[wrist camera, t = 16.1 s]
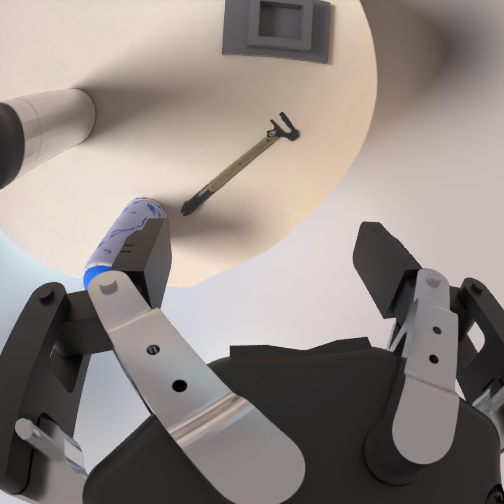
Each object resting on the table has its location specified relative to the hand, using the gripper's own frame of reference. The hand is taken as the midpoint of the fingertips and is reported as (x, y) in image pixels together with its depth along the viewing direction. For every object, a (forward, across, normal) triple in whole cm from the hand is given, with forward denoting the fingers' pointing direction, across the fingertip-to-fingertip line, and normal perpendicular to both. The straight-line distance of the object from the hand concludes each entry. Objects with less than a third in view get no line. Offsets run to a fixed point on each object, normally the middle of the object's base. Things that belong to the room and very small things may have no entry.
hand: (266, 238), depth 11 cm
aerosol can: (+30, +15, +14) cm, 37 cm away
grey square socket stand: (+30, -4, -16) cm, 34 cm away
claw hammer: (+31, +1, +5) cm, 31 cm away
